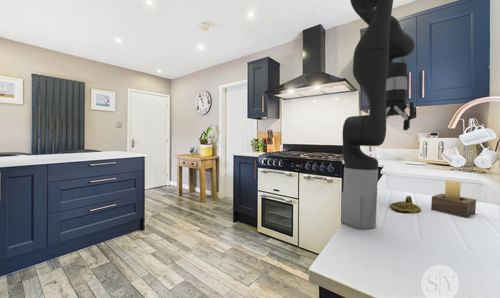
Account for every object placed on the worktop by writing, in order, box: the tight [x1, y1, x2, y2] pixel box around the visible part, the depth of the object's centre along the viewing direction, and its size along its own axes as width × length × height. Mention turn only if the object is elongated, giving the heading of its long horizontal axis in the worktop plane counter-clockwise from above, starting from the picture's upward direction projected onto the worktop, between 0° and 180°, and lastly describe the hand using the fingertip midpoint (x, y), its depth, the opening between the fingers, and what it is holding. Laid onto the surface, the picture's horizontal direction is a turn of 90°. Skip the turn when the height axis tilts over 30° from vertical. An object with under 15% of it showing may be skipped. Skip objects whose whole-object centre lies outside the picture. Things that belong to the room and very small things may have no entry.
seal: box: [388, 195, 422, 215], centre depth 80 cm, size 9×5×15 cm
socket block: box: [430, 193, 477, 219], centre depth 77 cm, size 10×10×5 cm
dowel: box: [444, 180, 462, 201], centre depth 78 cm, size 4×4×10 cm
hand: (393, 130), depth 85 cm, fingers open, 8 cm apart
